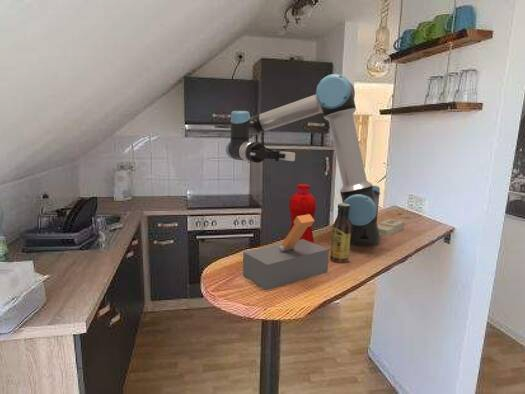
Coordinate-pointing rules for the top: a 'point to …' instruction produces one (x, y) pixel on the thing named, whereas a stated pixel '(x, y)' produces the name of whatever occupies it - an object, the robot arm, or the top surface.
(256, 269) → the breaker box
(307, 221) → the lever
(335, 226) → the sauce bottle
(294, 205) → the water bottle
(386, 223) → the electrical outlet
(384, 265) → the top surface
